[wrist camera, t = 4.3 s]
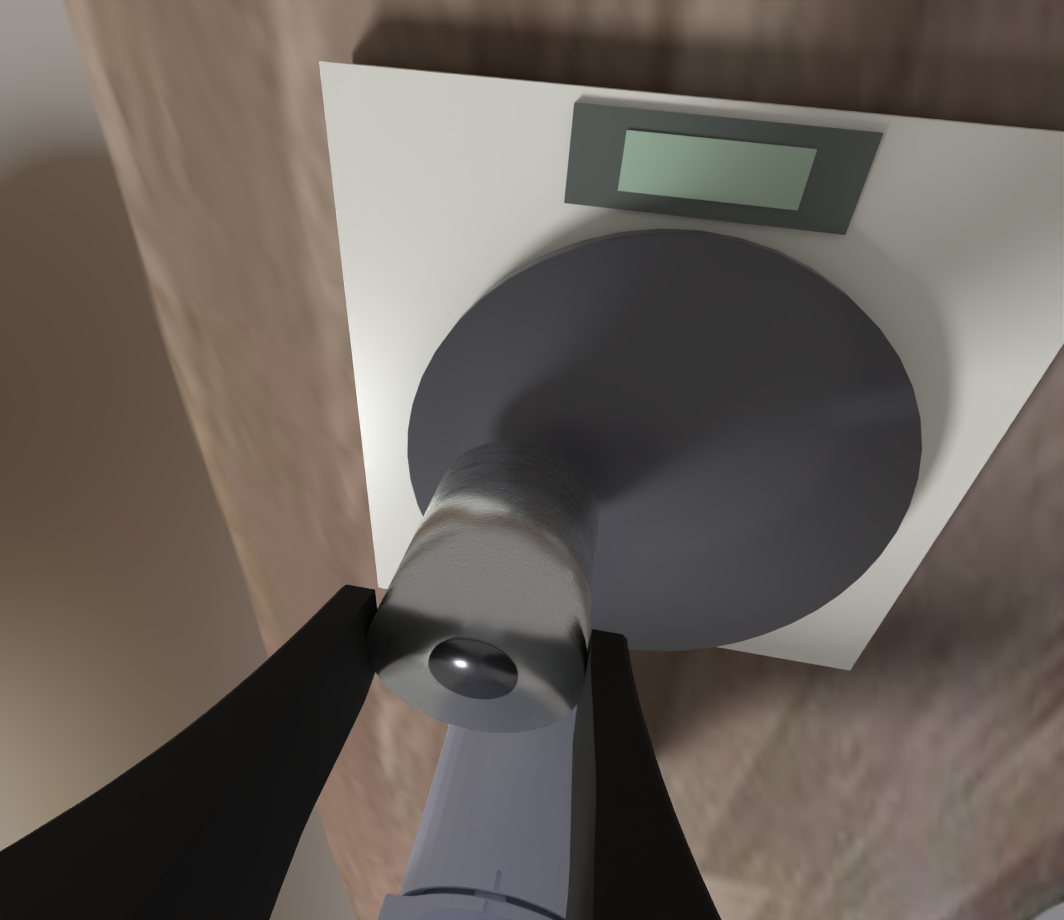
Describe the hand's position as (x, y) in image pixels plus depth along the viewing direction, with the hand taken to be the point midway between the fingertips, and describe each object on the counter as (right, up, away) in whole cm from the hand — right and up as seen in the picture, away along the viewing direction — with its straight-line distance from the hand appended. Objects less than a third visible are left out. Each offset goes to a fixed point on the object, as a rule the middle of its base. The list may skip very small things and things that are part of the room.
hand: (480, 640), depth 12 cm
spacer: (+1, +2, +4) cm, 4 cm away
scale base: (+5, +5, +6) cm, 9 cm away
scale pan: (+4, +3, +5) cm, 8 cm away
